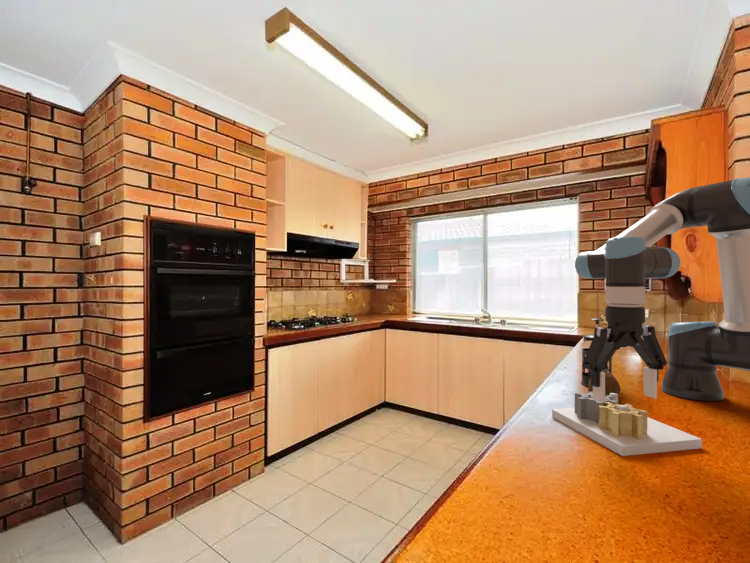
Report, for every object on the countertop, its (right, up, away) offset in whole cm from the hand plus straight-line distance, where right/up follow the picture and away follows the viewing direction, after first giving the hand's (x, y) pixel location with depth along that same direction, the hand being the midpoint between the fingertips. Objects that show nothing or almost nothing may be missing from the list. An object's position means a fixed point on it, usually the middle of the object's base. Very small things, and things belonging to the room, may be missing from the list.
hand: (624, 398), depth 84 cm
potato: (+13, -9, +28) cm, 32 cm away
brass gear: (-1, -7, 0) cm, 7 cm away
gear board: (+2, -9, +5) cm, 10 cm away
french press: (+20, -9, +44) cm, 49 cm away
